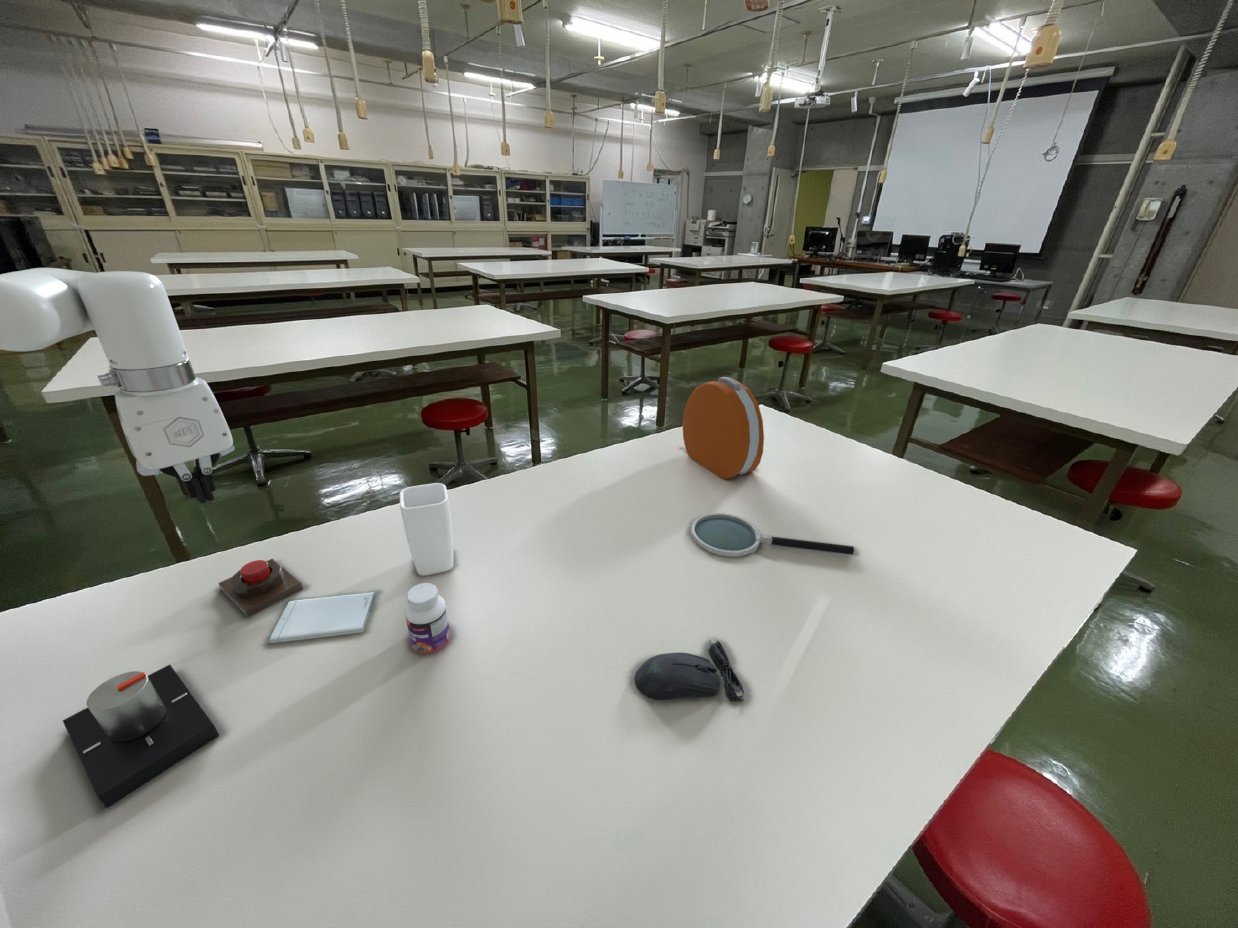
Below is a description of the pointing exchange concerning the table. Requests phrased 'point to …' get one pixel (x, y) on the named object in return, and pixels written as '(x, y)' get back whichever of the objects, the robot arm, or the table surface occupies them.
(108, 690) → the knob
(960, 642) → the table surface
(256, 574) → the button
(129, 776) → the rotary dial switch
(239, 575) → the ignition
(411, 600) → the pill bottle
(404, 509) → the cup
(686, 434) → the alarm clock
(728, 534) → the magnifying glass
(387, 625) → the table surface
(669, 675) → the computer mouse
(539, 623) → the table surface
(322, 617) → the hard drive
